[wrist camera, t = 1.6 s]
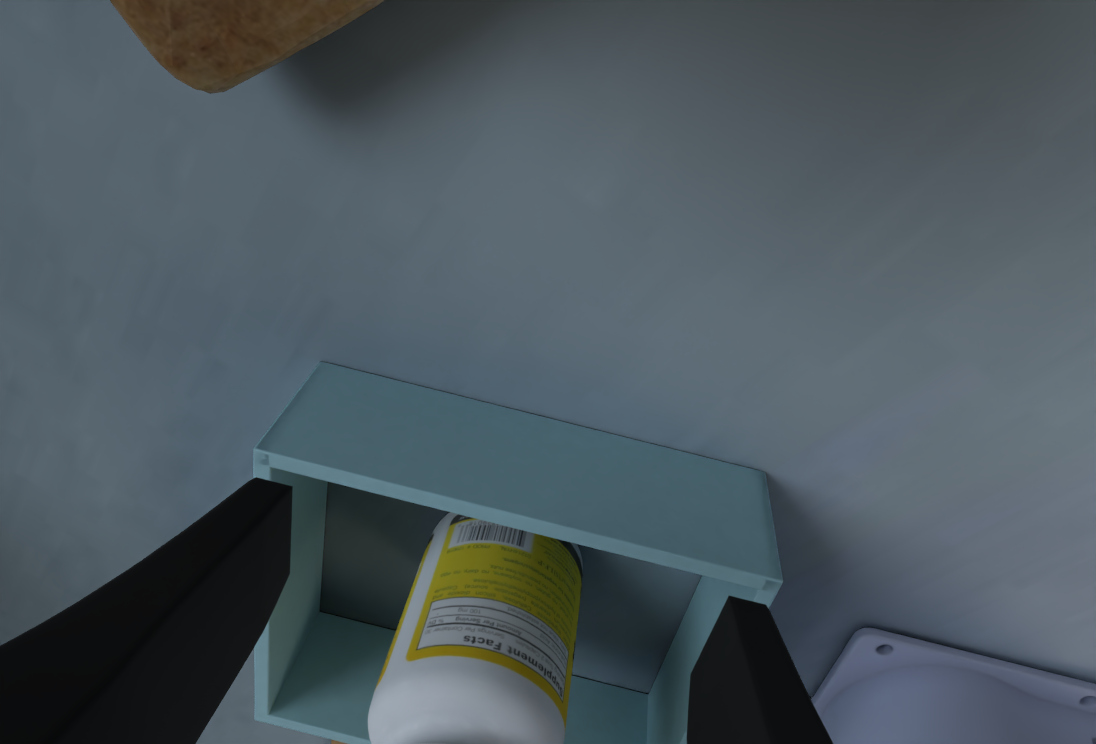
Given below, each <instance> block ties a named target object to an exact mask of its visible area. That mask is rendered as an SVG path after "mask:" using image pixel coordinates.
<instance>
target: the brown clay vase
mask: <svg viewBox="0 0 1096 744" xmlns="http://www.w3.org/2000/svg"><path fill="white" fill-rule="evenodd" d="M110 1H111V3H112V4H113V6H114V7H115V8H116V10H117V11H118V12H119V14H120V15H121V16H122V17H123V19H124V20H125V21H126V23H127V24H128V25H129V27H130V28H131V29H132V31H133V32H134V33H135V34H136V36H137V37H138V38H139V40H140V41H141V42H142V44H143V45H144V46H145V47H146V48H147V50H148V51H149V52H150V53H151V54H152V56H153V57H154V58H155V59H156V60H157V61H158V62H159V64H160V65H162V66H163V67H164V68H165V69H166V70H167V71H168V72H169V73H170V74H172V75H173V76H174V77H175V78H176V79H178V80H180V81H182V82H183V83H185V84H187V85H189V86H190V87H192V88H194V89H197V90H202V91H205V92H207V93H219V92H225V91H227V90H229V89H231V88H232V87H234V86H236V85H238V84H240V83H242V82H244V81H246V80H248V79H250V78H251V77H253V76H255V75H257V74H259V73H261V72H263V71H265V70H266V69H268V68H270V67H272V66H274V65H276V64H278V63H279V62H281V61H283V60H285V59H286V58H288V57H290V56H291V55H293V54H295V53H296V52H298V51H300V50H301V49H303V48H305V47H307V46H309V45H311V44H313V43H315V42H317V41H319V40H320V39H322V38H324V37H326V36H327V35H329V34H331V33H333V32H334V31H336V30H338V29H340V28H341V27H343V26H345V25H347V24H348V23H350V22H351V21H353V20H355V19H356V18H358V17H360V16H361V15H363V14H364V13H366V12H368V11H369V10H371V9H373V8H374V7H376V6H377V5H378V4H380V3H381V2H383V1H384V0H110Z"/></svg>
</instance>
